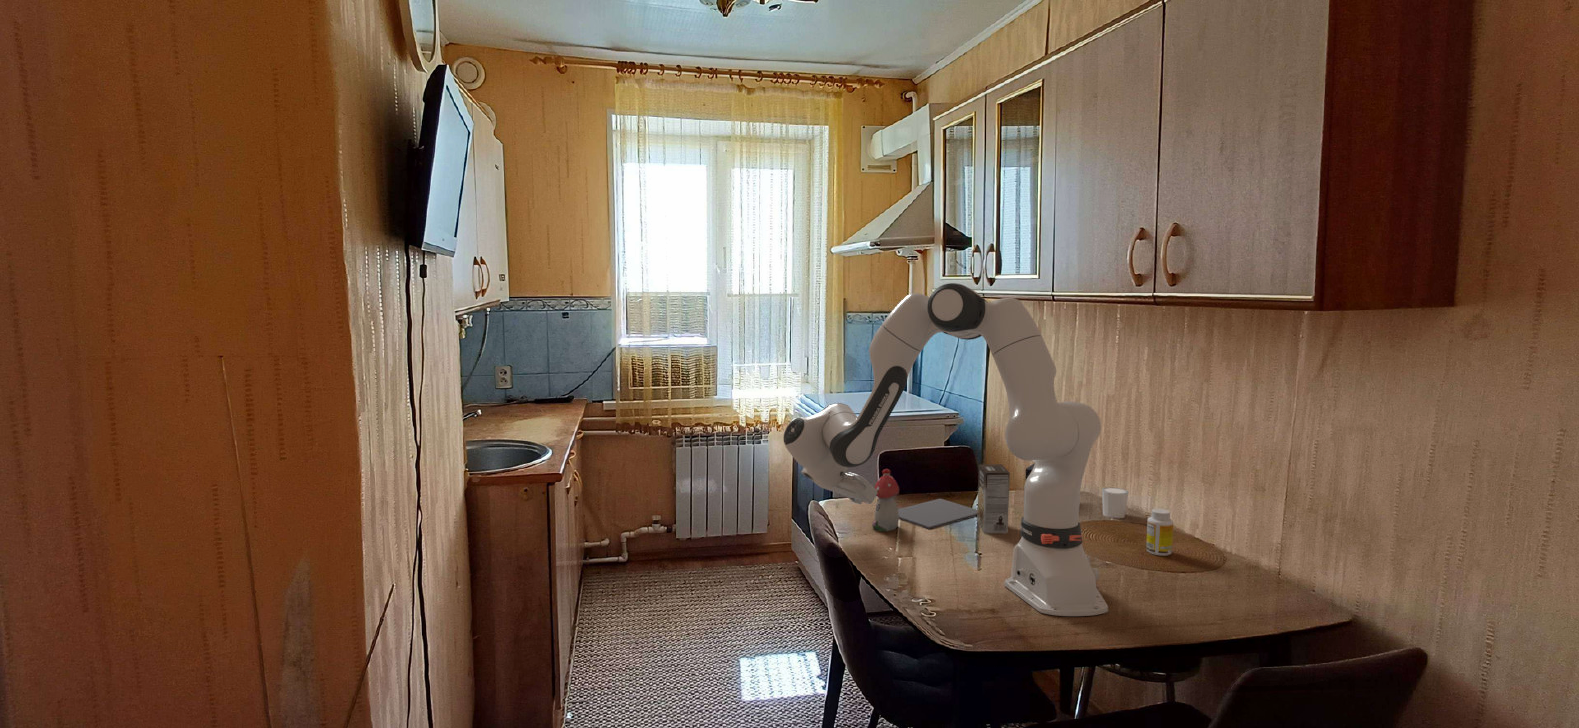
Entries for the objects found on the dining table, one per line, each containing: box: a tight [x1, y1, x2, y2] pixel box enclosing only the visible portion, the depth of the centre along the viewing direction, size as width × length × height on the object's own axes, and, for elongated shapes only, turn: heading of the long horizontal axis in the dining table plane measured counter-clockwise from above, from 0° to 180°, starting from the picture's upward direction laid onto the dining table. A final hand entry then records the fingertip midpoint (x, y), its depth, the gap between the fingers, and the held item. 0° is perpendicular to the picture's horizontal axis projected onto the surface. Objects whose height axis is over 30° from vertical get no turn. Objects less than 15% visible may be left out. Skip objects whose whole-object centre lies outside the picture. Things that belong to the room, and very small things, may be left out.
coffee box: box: [976, 463, 1011, 534], centre depth 201 cm, size 9×6×16 cm
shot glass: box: [1101, 487, 1129, 519], centre depth 212 cm, size 7×7×7 cm
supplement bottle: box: [1145, 508, 1174, 557], centre depth 183 cm, size 6×6×10 cm
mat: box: [897, 498, 978, 530], centre depth 213 cm, size 22×16×1 cm
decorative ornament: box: [871, 468, 900, 533], centre depth 201 cm, size 9×7×15 cm
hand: (858, 501), depth 195 cm, fingers closed
